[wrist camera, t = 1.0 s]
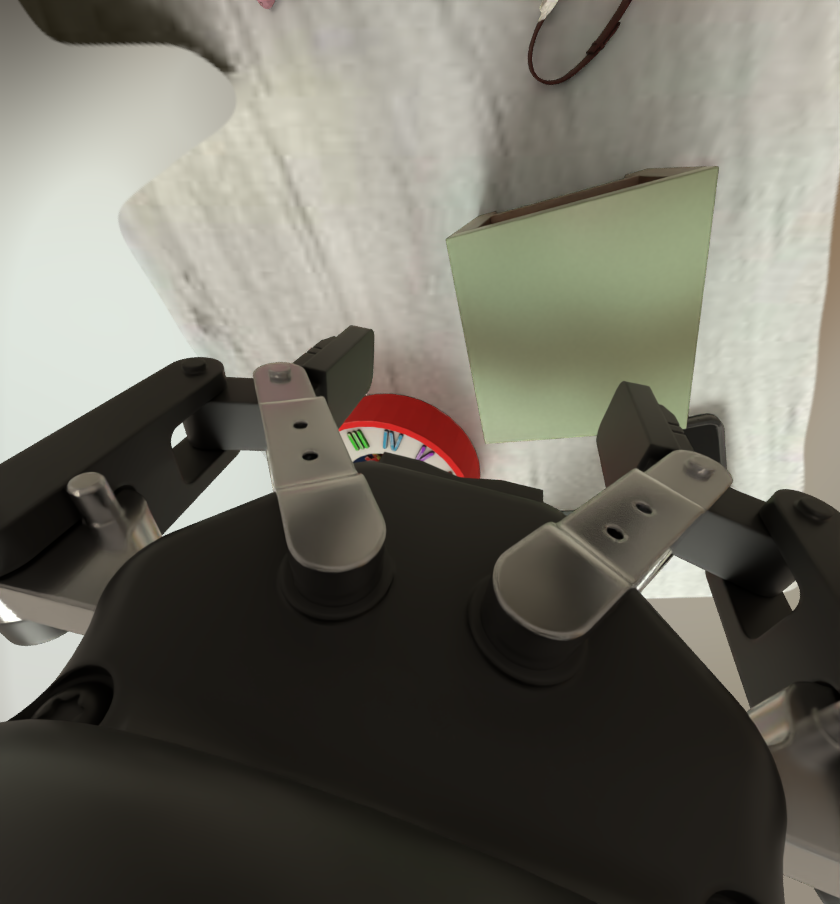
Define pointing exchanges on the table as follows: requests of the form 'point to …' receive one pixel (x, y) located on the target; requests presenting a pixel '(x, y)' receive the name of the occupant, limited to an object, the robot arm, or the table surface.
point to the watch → (595, 48)
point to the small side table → (584, 301)
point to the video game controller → (266, 3)
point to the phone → (707, 437)
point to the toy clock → (408, 434)
